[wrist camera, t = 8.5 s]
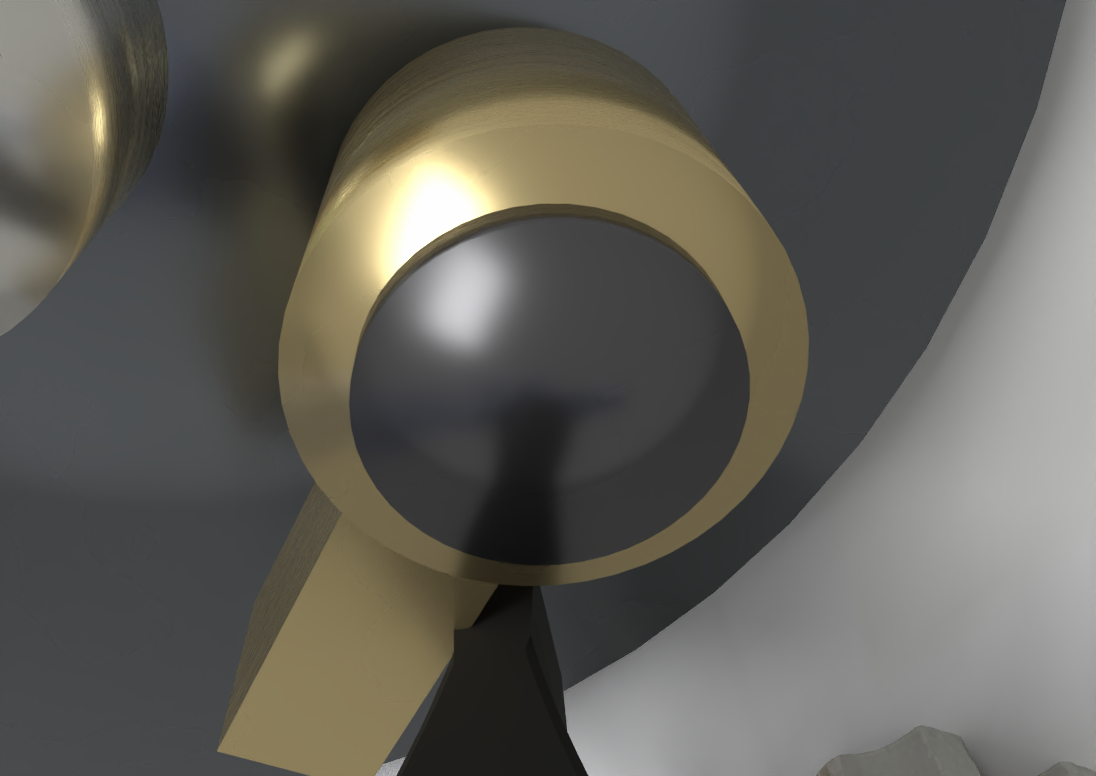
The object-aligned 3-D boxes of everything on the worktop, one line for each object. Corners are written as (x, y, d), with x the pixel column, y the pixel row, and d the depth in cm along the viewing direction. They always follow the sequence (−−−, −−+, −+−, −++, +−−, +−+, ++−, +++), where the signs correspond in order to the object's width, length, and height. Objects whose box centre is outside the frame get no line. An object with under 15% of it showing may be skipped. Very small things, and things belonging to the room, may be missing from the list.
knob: (427, -55, 10) (411, 24, 6) (790, 144, 11) (936, 296, 8) (165, 552, 13) (65, 809, 10) (462, 647, 14) (465, 902, 11)
